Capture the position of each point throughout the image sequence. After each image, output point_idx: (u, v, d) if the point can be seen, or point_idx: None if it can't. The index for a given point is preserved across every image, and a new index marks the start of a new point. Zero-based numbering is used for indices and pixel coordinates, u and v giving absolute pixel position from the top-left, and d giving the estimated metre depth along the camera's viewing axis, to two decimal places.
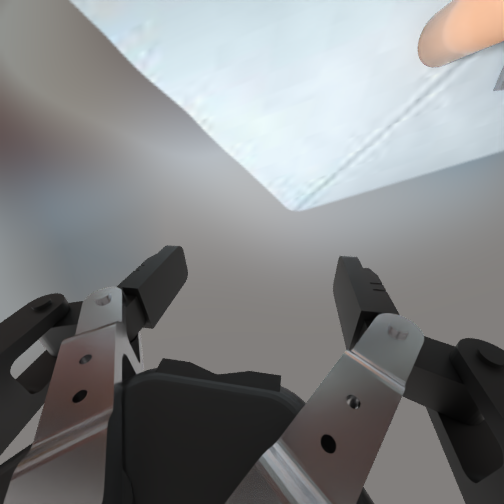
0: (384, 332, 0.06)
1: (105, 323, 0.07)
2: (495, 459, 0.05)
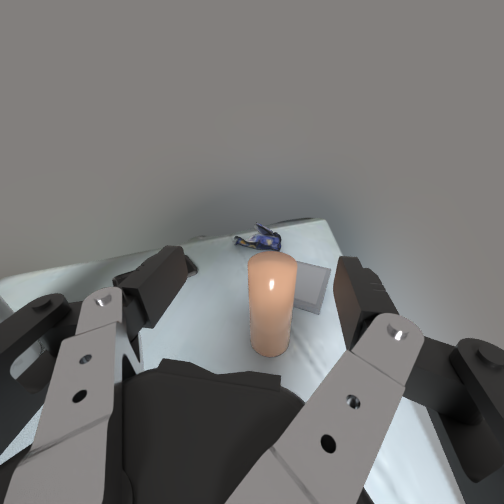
0: (384, 332, 0.06)
1: (105, 323, 0.07)
2: (495, 459, 0.05)
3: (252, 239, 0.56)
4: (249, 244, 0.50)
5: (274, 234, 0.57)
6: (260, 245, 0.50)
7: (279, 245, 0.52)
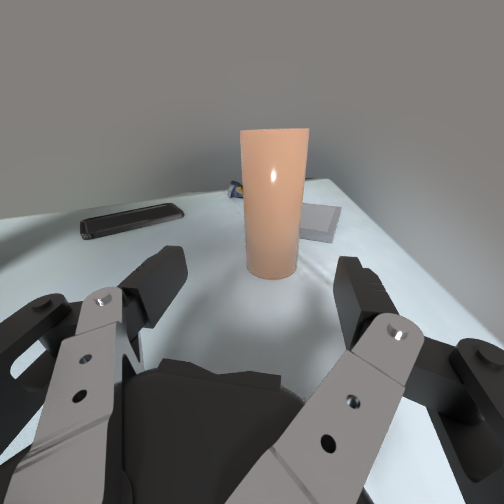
0: (384, 332, 0.06)
1: (105, 323, 0.07)
2: (495, 459, 0.05)
3: None
4: None
5: None
6: None
7: None
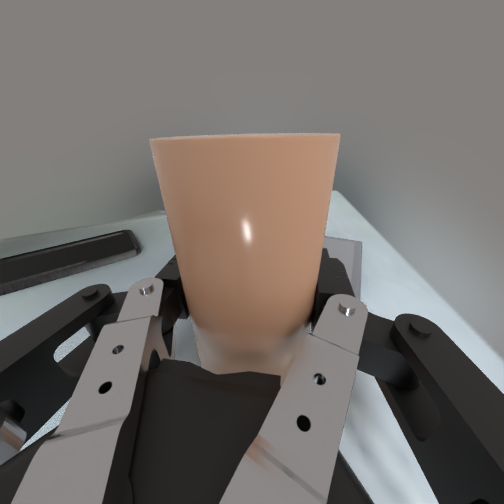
0: (334, 309, 0.07)
1: (155, 310, 0.07)
2: (433, 414, 0.06)
3: None
4: None
5: None
6: None
7: None
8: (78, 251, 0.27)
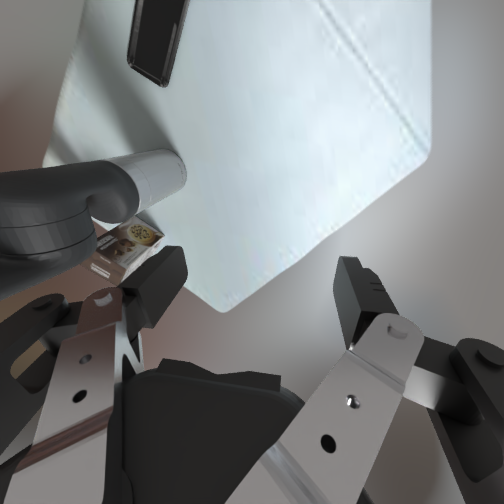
0: (384, 332, 0.06)
1: (105, 323, 0.07)
2: (495, 459, 0.05)
3: None
4: None
5: None
6: None
7: None
8: (155, 16, 0.35)
